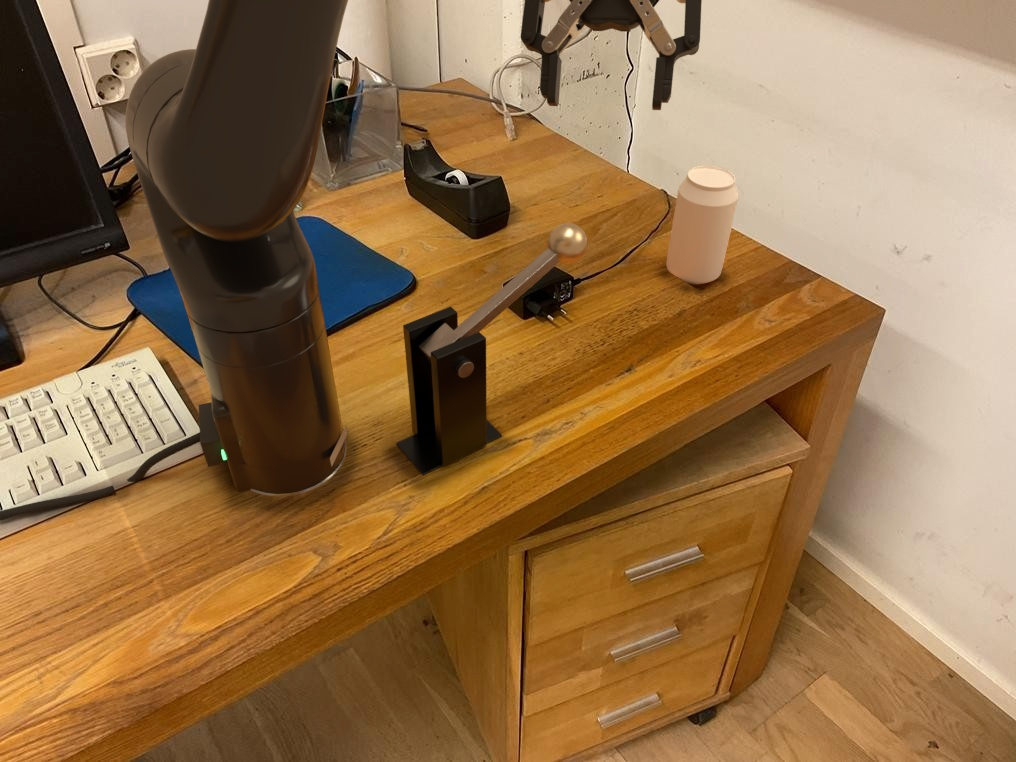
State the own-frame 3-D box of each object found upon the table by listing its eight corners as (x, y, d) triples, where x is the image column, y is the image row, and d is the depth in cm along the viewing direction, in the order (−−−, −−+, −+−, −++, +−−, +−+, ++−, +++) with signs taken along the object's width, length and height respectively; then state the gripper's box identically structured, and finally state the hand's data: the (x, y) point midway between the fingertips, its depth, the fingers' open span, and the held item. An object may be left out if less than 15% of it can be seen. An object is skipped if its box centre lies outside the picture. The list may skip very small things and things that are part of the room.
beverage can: (665, 256, 94) (681, 159, 86) (719, 262, 93) (740, 165, 85) (663, 285, 89) (680, 187, 82) (720, 292, 89) (743, 193, 81)
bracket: (469, 411, 74) (466, 295, 65) (507, 449, 70) (509, 332, 62) (392, 447, 70) (378, 329, 62) (428, 490, 67) (419, 371, 58)
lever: (574, 235, 67) (563, 208, 65) (599, 252, 65) (589, 225, 63) (429, 361, 65) (412, 339, 62) (450, 383, 63) (434, 361, 61)
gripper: (524, -128, 61) (510, 95, 64) (717, -132, 59) (694, 100, 61) (540, -87, 69) (526, 111, 71) (712, -89, 66) (691, 117, 69)
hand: (604, 106), depth 66 cm, fingers open, 8 cm apart
